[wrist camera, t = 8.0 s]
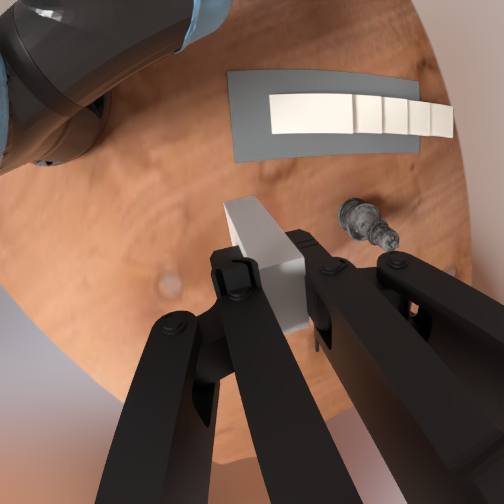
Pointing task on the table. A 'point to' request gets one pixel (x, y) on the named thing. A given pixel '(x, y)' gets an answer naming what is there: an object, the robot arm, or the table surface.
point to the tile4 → (418, 118)
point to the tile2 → (367, 114)
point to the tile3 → (394, 115)
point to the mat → (308, 144)
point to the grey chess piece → (367, 224)
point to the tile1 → (311, 113)
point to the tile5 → (441, 120)
